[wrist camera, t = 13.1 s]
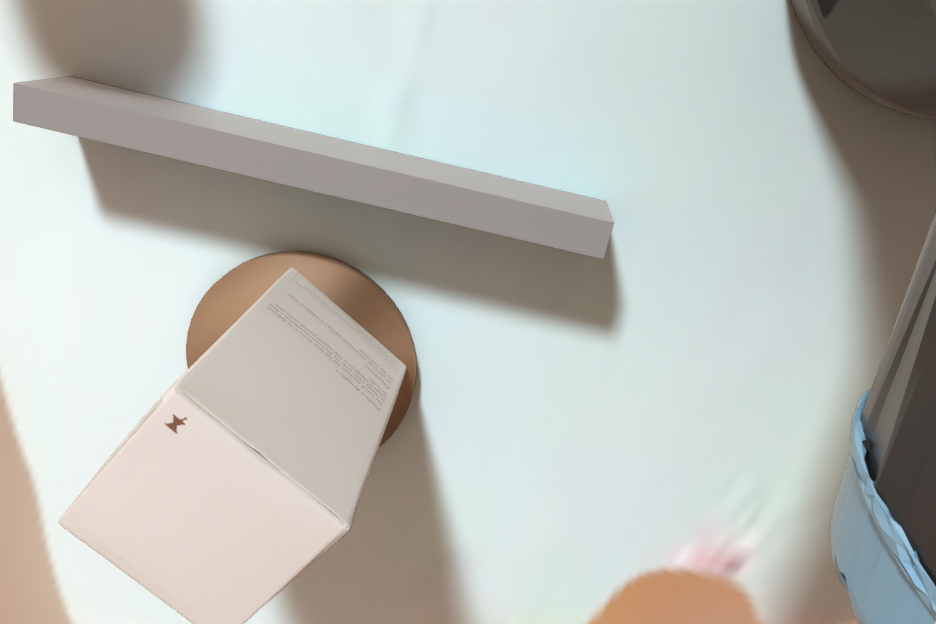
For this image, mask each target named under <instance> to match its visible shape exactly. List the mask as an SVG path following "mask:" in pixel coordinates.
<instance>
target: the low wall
mask: <svg viewBox="0 0 936 624" xmlns="http://www.w3.org/2000/svg"><path fill="white" fill-rule="evenodd" d="M13 121H14V122H18V123H23V124H27V125H31V126H36V127H40V128H44V129H48V130H53V131H57V132H61V133H66V134H70V135H74V136H78V137H83V138H87V139H91V140H96V141H100V142H104V143H108V144H113V145H117V146H121V147H126V148H130V149H134V150H138V151H143V152H147V153H151V154H156V155H160V156H164V157H168V158H173V159H177V160H181V161H185V162H190V163H194V164H198V165H203V166H207V167H211V168H215V169H220V170H224V171H228V172H233V173H237V174H241V175H245V176H250V177H254V178H258V179H263V180H267V181H271V182H275V183H280V184H284V185H288V186H293V187H297V188H301V189H305V190H310V191H314V192H318V193H323V194H327V195H331V196H335V197H340V198H344V199H348V200H352V201H357V202H361V203H365V204H370V205H374V206H378V207H382V208H387V209H391V210H395V211H400V212H404V213H408V214H412V215H417V216H421V217H425V218H430V219H434V220H438V221H442V222H447V223H451V224H455V225H460V226H464V227H468V228H472V229H477V230H481V231H485V232H490V233H494V234H498V235H502V236H507V237H511V238H515V239H519V240H524V241H528V242H532V243H537V244H541V245H545V246H549V247H554V248H558V249H562V250H567V251H571V252H575V253H579V254H584V255H588V256H592V257H597V258H601V259H604V255H605V252H606V248H607V245H608V241H609V238H610V235H611V231H612V228H613V224H614V222H613V219H612V216H611V214H610V211H609V208H608V205H607V202H606V201H603V200H599V199H594V198H590V197H586V196H582V195H577V194H573V193H569V192H564V191H560V190H556V189H551V188H547V187H543V186H539V185H534V184H530V183H526V182H521V181H517V180H513V179H509V178H504V177H500V176H496V175H491V174H487V173H483V172H478V171H474V170H470V169H466V168H461V167H457V166H453V165H448V164H444V163H440V162H436V161H431V160H427V159H423V158H418V157H414V156H410V155H406V154H401V153H397V152H393V151H388V150H384V149H380V148H375V147H371V146H367V145H363V144H358V143H354V142H350V141H345V140H341V139H337V138H333V137H328V136H324V135H320V134H315V133H311V132H307V131H303V130H298V129H294V128H290V127H285V126H281V125H277V124H272V123H268V122H264V121H260V120H255V119H251V118H247V117H242V116H238V115H234V114H230V113H225V112H221V111H217V110H212V109H208V108H204V107H200V106H195V105H191V104H187V103H182V102H178V101H174V100H169V99H165V98H161V97H157V96H152V95H148V94H144V93H139V92H135V91H131V90H127V89H122V88H118V87H114V86H109V85H105V84H101V83H96V82H92V81H88V80H84V79H79V78H75V77H71V76H70V77H61V78H52V79H44V80H35V81H26V82H17V83H14V91H13Z"/></svg>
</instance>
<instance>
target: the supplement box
mask: <svg viewBox="0 0 936 624" xmlns="http://www.w3.org/2000/svg"><path fill="white" fill-rule="evenodd" d="M406 368H407V366H406V365H405V364H404V363H403V362H401V361H400V360H399V359H398V358H397V357H396V356H395V355H393V354H392V353H391V352H390V351H389V350H388V349H387V348H386V347H384V346H383V345H382V344H381V343H380V342H379V341H378V340H376V339H375V338H374V337H373V336H372V335H371V334H369V333H368V332H367V331H366V330H365V329H364V328H363V327H361V326H360V325H359V324H358V323H357V322H356V321H354V320H353V319H352V318H351V317H350V316H349V315H348V314H346V313H345V312H344V311H343V310H342V309H341V308H339V307H338V306H337V305H336V304H335V303H334V302H333V301H331V300H330V299H329V298H328V297H327V296H326V295H324V294H323V293H322V292H321V291H320V290H319V289H317V288H316V287H315V286H314V285H313V284H312V283H311V282H309V281H308V280H307V279H306V278H305V277H304V276H302V275H301V274H300V273H299V272H298V271H297V270H296V269H295V268H293V267H292V268H290V269H289V270H288V271H287V272H285V273H284V274H283V275H282V276H281V277H280V278H279V279H278V280H277V281H276V282H275V283H274V284H273V285H272V286H271V287H270V288H269V289H268V290H267V291H266V292H265V293H264V294H263V295H262V296H261V297H260V298H259V300H258V301H257V302H256V303H255V304H253V305H252V306H251V307H250V308H249V309H248V310H247V311H246V312H245V313H244V314H243V315H242V316H241V317H240V318H239V319H238V320H237V321H236V322H235V323H234V324H233V325H232V326H231V327H230V328H229V329H228V330H227V331H226V332H225V333H224V334H223V335H222V336H221V337H220V338H219V339H218V340H217V341H216V342H215V343H214V344H213V345H212V346H211V347H210V348H209V349H208V350H207V351H206V352H205V353H204V354H203V355H202V356H201V357H200V358H199V359H198V360H197V361H196V362H195V363H194V364H193V365H192V366H191V367H190V368H189V369H188V370H187V371H186V372H185V373H184V374H183V375H182V376H181V377H180V378H179V379H178V380H177V381H176V382H175V383H174V384H173V385H172V386H171V387H170V388H169V389H168V390H167V391H166V392H165V394H164V395H163V396H162V397H161V398H160V399H159V400H158V401H157V402H156V403H155V405H154V406H153V407H152V408H151V409H150V410H149V411H148V412H147V414H146V415H145V416H144V417H143V418H142V419H141V420H140V422H139V423H138V424H137V425H136V426H135V427H134V429H133V430H132V431H131V432H130V433H129V434H128V436H127V437H126V438H125V439H124V440H123V442H122V443H121V444H120V445H119V446H118V448H117V449H116V450H115V451H114V453H113V454H112V455H111V456H110V457H109V459H108V460H107V461H106V462H105V463H104V465H103V466H102V467H101V468H100V470H99V471H98V472H97V473H96V475H95V476H94V477H93V478H92V480H91V481H90V482H89V483H88V485H87V486H86V487H85V488H84V490H83V491H82V492H81V493H80V495H79V496H78V497H77V498H76V499H75V501H74V502H73V503H72V504H71V506H70V507H69V508H68V509H67V510H66V512H65V513H64V514H63V515H62V517H61V518H60V519H59V521H58V523H59V525H61V526H62V527H63V528H65V529H66V530H67V531H69V532H70V533H71V534H73V535H74V536H75V537H77V538H78V539H80V540H81V541H83V542H84V543H85V544H87V545H88V546H89V547H91V548H92V549H93V550H95V551H96V552H98V553H99V554H100V555H102V556H103V557H104V558H106V559H107V560H108V561H110V562H111V563H112V564H114V565H115V566H116V567H118V568H119V569H120V570H122V571H123V572H124V573H126V574H127V575H128V576H130V577H131V578H133V579H134V580H135V581H137V582H138V583H139V584H141V585H142V586H143V587H145V588H146V589H147V590H149V591H150V592H151V593H153V594H154V595H155V596H157V597H158V598H159V599H161V600H162V601H163V602H165V603H166V604H167V605H169V606H170V607H171V608H173V609H174V610H176V611H177V612H178V613H180V614H181V615H182V616H184V617H185V618H186V619H187V620H189V621H190V622H191V623H193V624H244V623H245V622H246V621H247V620H248V619H249V618H251V617H252V616H253V615H254V614H255V613H256V612H257V611H258V610H259V609H260V608H261V607H263V606H264V605H265V604H266V603H267V602H268V601H270V600H271V599H272V598H273V597H274V596H275V595H277V594H278V593H279V592H280V591H281V590H282V589H283V588H285V587H286V586H287V585H288V584H289V583H290V582H291V581H293V580H294V579H295V578H296V577H297V576H298V575H299V574H301V573H302V572H303V571H304V570H305V569H306V568H307V567H309V566H310V565H311V564H312V563H313V562H314V561H316V560H317V559H318V558H319V557H320V556H321V555H322V554H324V553H325V552H326V551H327V550H328V549H329V548H331V547H332V546H333V545H334V544H335V543H336V542H337V541H339V540H340V539H341V538H342V537H343V536H344V535H346V534H347V533H348V532H349V531H350V530H351V527H352V523H353V519H354V516H355V513H356V509H357V506H358V503H359V500H360V497H361V494H362V491H363V489H364V486H365V483H366V480H367V477H368V475H369V472H370V469H371V467H372V464H373V461H374V459H375V456H376V453H377V450H378V448H379V445H380V442H381V440H382V437H383V434H384V431H385V428H386V426H387V423H388V420H389V418H390V415H391V412H392V409H393V407H394V404H395V401H396V398H397V395H398V392H399V389H400V386H401V383H402V380H403V377H404V374H405V371H406Z"/></svg>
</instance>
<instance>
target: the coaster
mask: <svg viewBox="0 0 936 624" xmlns="http://www.w3.org/2000/svg"><path fill="white" fill-rule="evenodd" d="M292 267H293V268H295V269H296V270H297V271H298V272H299V273H300V274H301V275H302V276H304V277H305V278H306V279H307V280H308V281H309V282H311V283H312V284H313V285H314V286H315V287H316V288H317V289H319V290H320V291H321V292H322V293H323V294H324V295H326V296H327V297H328V298H329V299H330V300H331V301H333V302H334V303H335V304H336V305H337V306H338V307H339V308H341V309H342V310H343V311H344V312H345V313H346V314H348V315H349V316H350V317H351V318H352V319H353V320H354V321H356V322H357V323H358V324H359V325H360V326H361V327H363V328H364V329H365V330H366V331H367V332H368V333H369V334H371V335H372V336H373V337H374V338H375V339H376V340H378V341H379V342H380V343H381V344H382V345H383V346H384V347H386V348H387V349H388V350H389V351H390V352H391V353H392V354H393V355H395V356H396V357H397V358H398V359H399V360H400V361H401V362H403V363H404V364H405V365H406V366H407V368H406V371H405V374H404V377H403V380H402V383H401V386H400V389H399V392H398V395H397V398H396V401H395V404H394V407H393V409H392V412H391V415H390V418H389V420H388V423H387V426H386V428H385V431H384V434H383V437H382V440H381V442H380V445H379V447H380V446H381V445H382V444H383V443H384V442H385V441H386V440H387V439H388V438H390V436H391V435H392V434H393V433H394V431H395V430H396V429H397V428H398V426H399V424H400V423H401V421H402V419H403V418H404V416H405V414H406V411H407V409H408V406H409V404H410V401H411V398H412V395H413V390H414V386H415V381H416V370H417V368H416V354H415V348H414V343H413V340H412V337H411V334H410V331H409V328H408V326H407V324H406V322H405V320H404V318H403V316H402V314H401V312H400V311H399V309H398V308H397V306H396V305H395V303H394V302H393V301H392V299H391V298H390V297H389V296H388V295H387V294H386V292H385V291H384V290H383V289H382V288H381V287H380V286H378V285H377V284H376V283H375V282H374V281H373V280H372V279H370V278H369V277H368V276H366V275H365V274H363V273H362V272H360V271H359V270H357V269H355V268H353V267H352V266H350V265H348V264H346V263H344V262H341V261H339V260H336V259H334V258H331V257H327V256H323V255H320V254H316V253H308V252H300V251H293V252H277V253H270V254H266V255H263V256H259V257H256V258H253V259H251V260H249V261H246V262H244V263H242V264H240V265H239V266H237V267H236V268H234V269H232V270H231V271H229V272H228V273H227V274H226V275H224V276H223V277H222V278H221V279H220V280H218V281H217V282H216V283H215V284H214V285H213V286H212V287H211V288H210V289H209V290H208V292H207V293H206V294H205V295H204V297H203V298H202V300H201V301H200V303H199V304H198V306H197V308H196V310H195V312H194V315H193V317H192V319H191V323H190V326H189V330H188V336H187V344H186V357H187V366H188V369H189V368H190V367H191V366H192V365H193V364H194V363H195V362H196V361H197V360H198V359H199V358H200V357H201V356H202V355H203V354H204V353H205V352H206V351H207V350H208V349H209V348H210V347H211V346H212V345H213V344H214V343H215V342H216V341H217V340H218V339H219V338H220V337H221V336H222V335H223V334H224V333H225V332H226V331H227V330H228V329H229V328H230V327H231V326H232V325H233V324H234V323H235V322H236V321H237V320H238V319H239V318H240V317H241V316H242V315H243V314H244V313H245V312H246V311H247V310H248V309H249V308H250V307H251V306H252V305H253V304H255V303H256V302H257V301H258V300H259V298H260V297H261V296H262V295H263V294H264V293H265V292H266V291H267V290H268V289H269V288H270V287H271V286H272V285H273V284H274V283H275V282H276V281H277V280H278V279H279V278H280V277H281V276H282V275H283V274H284V273H285V272H287V271H288V270H289V269H290V268H292Z"/></svg>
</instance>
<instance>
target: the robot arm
mask: <svg viewBox="0 0 936 624" xmlns="http://www.w3.org/2000/svg"><path fill="white" fill-rule="evenodd" d="M791 3H792V6H793V9H794V12H795V14H796V17H797V19H798V21H799V24H800V26H801V28H802V30H803V32H804V34H805V35H806V37H807V39H808V41H809V42H810V44H811V45H812V47H813V48H814V50H815V51H816V53H817V54H818V55H819V57H820V58H821V59H822V60H823V62H824V63H825V64H826V65H827V66H828V67H829V68H830V69H831V70H832V71H833V72H834V73H835V74H836V75H837V76H838V77H839V78H840V79H841V80H842V81H844V82H845V83H846V84H848V85H849V86H850V87H851V88H853V89H854V90H856V91H857V92H859V93H860V94H862V95H864V96H865V97H867V98H869V99H871V100H873V101H875V102H877V103H879V104H881V105H884V106H886V107H888V108H891V109H894V110H897V111H900V112H904V113H908V114H912V115H916V116H920V117H925V118H929V119H933V120H936V0H791ZM850 442H851V449H850V453H849V457H848V460H847V464H846V467H845V471H844V474H843V478H842V482H841V485H840V489H839V492H838V496H837V499H836V502H835V505H834V508H833V513H832V519H831V535H830V540H831V551H832V557H833V562H834V567H835V571H836V573H837V575H838V577H839V579H840V582H841V583H842V585H843V587H844V589H845V590H846V592H847V593H848V594H849V596H850V604H851V606H852V610H853V615H854V617H855V619H856V621H857V623H858V624H936V211H935V214H934V217H933V220H932V222H931V225H930V228H929V231H928V234H927V236H926V239H925V242H924V245H923V247H922V250H921V253H920V256H919V258H918V261H917V264H916V267H915V269H914V272H913V275H912V278H911V281H910V283H909V286H908V289H907V292H906V294H905V297H904V300H903V303H902V305H901V308H900V311H899V314H898V317H897V319H896V322H895V325H894V328H893V330H892V333H891V336H890V339H889V341H888V344H887V347H886V350H885V352H884V355H883V358H882V361H881V364H880V366H879V369H878V372H877V375H876V377H875V380H874V383H873V386H872V388H871V389H870V390H868V391H865V392H864V394H863V395H862V397H861V399H860V401H859V402H858V404H857V407H856V410H855V413H854V417H853V420H852V423H851V434H850Z"/></svg>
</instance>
